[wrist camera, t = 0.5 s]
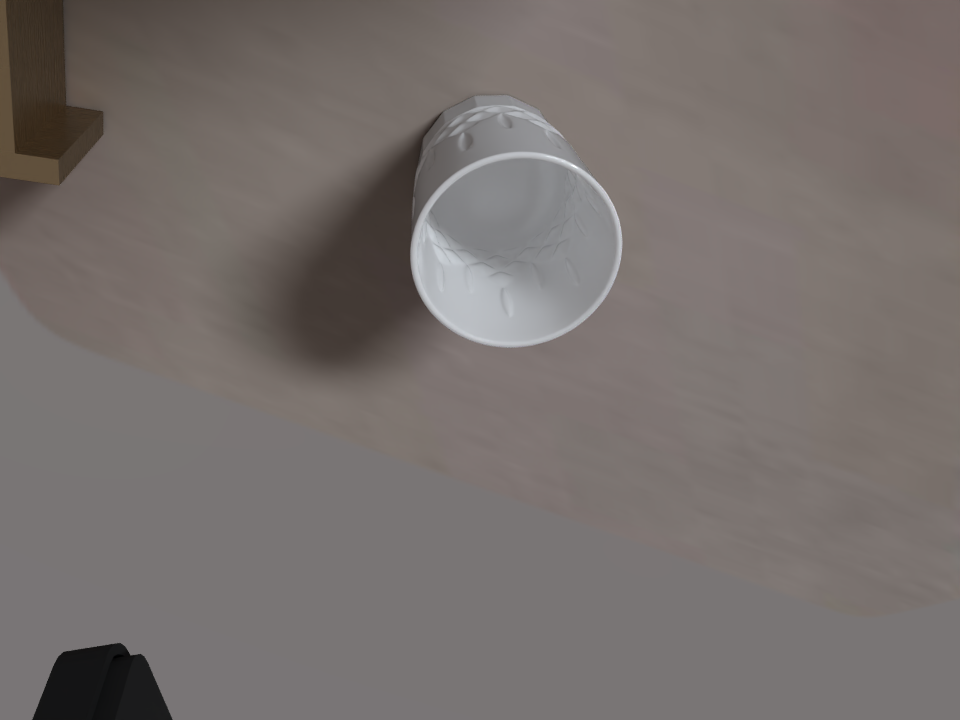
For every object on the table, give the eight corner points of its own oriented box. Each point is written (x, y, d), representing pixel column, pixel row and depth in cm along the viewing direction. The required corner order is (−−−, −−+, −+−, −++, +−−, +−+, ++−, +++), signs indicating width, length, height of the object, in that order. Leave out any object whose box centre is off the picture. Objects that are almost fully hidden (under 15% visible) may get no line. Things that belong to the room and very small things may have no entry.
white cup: (408, 247, 44) (414, 353, 35) (400, 81, 40) (405, 156, 31) (569, 241, 44) (614, 343, 36) (578, 77, 40) (631, 149, 32)
